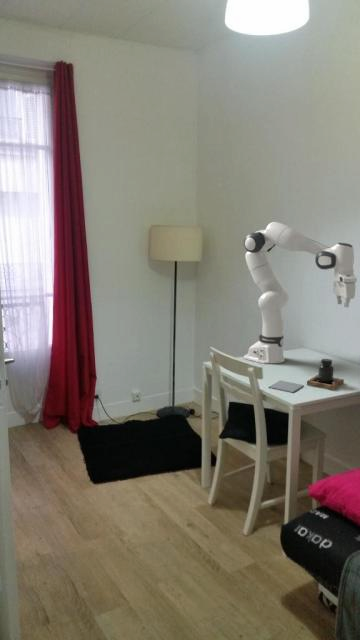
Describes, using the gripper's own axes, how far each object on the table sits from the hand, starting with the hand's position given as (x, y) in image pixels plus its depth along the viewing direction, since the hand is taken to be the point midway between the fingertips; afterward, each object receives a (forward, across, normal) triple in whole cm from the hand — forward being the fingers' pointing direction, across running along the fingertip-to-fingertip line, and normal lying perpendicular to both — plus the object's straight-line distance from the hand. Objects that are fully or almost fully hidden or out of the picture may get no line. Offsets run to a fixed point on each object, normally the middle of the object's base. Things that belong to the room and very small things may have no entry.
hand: (342, 305), depth 258 cm
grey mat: (+35, +14, -31) cm, 49 cm away
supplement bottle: (+36, +11, -11) cm, 39 cm away
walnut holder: (+36, +11, -11) cm, 39 cm away
